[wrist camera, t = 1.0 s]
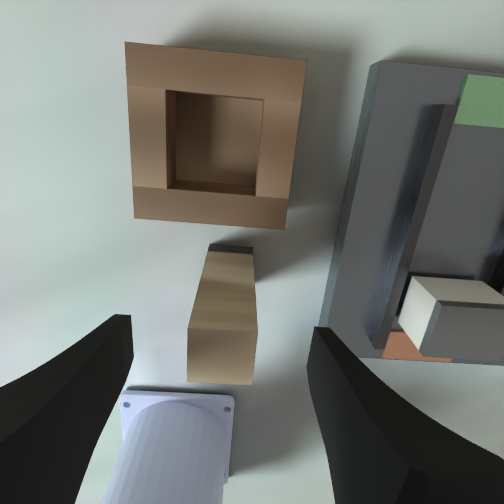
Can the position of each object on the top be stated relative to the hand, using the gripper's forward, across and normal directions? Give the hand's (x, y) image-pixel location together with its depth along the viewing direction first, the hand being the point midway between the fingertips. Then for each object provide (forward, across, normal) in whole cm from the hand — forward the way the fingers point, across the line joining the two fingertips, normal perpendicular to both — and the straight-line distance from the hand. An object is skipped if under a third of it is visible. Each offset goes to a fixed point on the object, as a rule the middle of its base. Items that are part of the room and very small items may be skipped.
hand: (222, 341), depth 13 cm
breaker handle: (+5, -12, +1) cm, 13 cm away
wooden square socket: (+7, +1, -7) cm, 10 cm away
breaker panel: (+7, -12, -3) cm, 14 cm away
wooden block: (+7, 0, 0) cm, 7 cm away
